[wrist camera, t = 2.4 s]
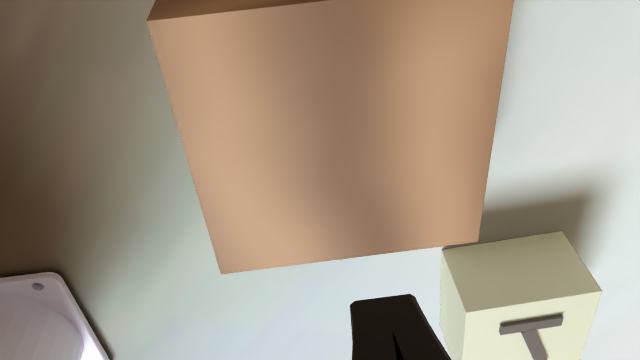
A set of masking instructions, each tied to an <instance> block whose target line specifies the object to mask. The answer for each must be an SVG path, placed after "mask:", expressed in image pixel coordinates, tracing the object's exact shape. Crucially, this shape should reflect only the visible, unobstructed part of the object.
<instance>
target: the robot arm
mask: <svg viewBox="0 0 640 360" xmlns="http://www.w3.org/2000/svg"><path fill="white" fill-rule="evenodd" d="M39 283H40V284H39ZM350 312H351V326H352V340H353V350H352V360H451V358H450V357H449V355H448V354H447V352H446V351H445V349H444V347H443V346H442V344H441V343H440V341H439V339H438V338H437V336H436V335H435V333H434V331H433V330H432V328H431V326H430V325H429V323H428V321H427V319H426V317H425V316H424V314H423V312H422V310H421V308H420V306H419V304H418V302H417V300H416V298H415V297H414V296H413V295H411V294H406V295H398V296H390V297H382V298H375V299H367V300H359V301H354V302H353V303H352V304H351V305H350ZM0 360H109V358H108V356H107V354H106V353H105V351H104V349H103V347H102V346H101V344H100V342H99V341H98V339H97V337H96V335H95V334H94V332H93V330H92V329H91V327H90V325H89V323H88V322H87V320H86V318H85V316H84V315H83V313H82V311H81V310H80V308H79V306H78V304H77V303H76V301H75V299H74V297H73V296H72V294H71V292H70V291H69V289H68V287H67V285H66V284H65V282H64V280H63V279H62V277H61V276H60V275H58V274H57V273H53V272H44V273H36V274H28V275H20V276H12V277H4V278H0Z"/></svg>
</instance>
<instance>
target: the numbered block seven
mask: <svg viewBox="0 0 640 360" xmlns="http://www.w3.org/2000/svg"><path fill="white" fill-rule="evenodd" d="M601 294H602V290H601V288H600V287H599V285H598V284H597V282H596V281H595V279H594V278H593V276H592V275H591V273H590V272H589V270H588V269H587V267H586V266H585V264H584V263H583V261H582V260H581V258H580V257H579V255H578V254H577V252H576V251H575V249H574V248H573V246H572V245H571V243H570V242H569V240H568V239H567V237H566V236H565V234H564V233H563V231H559V232H552V233H546V234H539V235H533V236H527V237H520V238H514V239H508V240H501V241H495V242H489V243H482V244H476V245H470V246H463V247H457V248H451V249H444V250H442V252H441V286H440V321H439V324H440V327H441V330H442V333H443V336H444V339H445V342H446V345H447V348H448V351H449V354H450V357H451V360H580V359H581V356H582V352H583V349H584V346H585V343H586V340H587V337H588V334H589V331H590V328H591V325H592V322H593V319H594V316H595V313H596V309H597V306H598V303H599V300H600V297H601Z"/></svg>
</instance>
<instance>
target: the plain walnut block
mask: <svg viewBox="0 0 640 360" xmlns="http://www.w3.org/2000/svg"><path fill="white" fill-rule="evenodd" d="M513 3H514V0H156V1H155V3H154V5H153V7H152V10H151V12H150V14H149V16H148V19H147V21H146V22H147V25H148V29H149V32H150V36H151V39H152V42H153V46H154V49H155V53H156V56H157V59H158V63H159V66H160V70H161V73H162V76H163V80H164V83H165V86H166V90H167V93H168V97H169V100H170V103H171V107H172V110H173V114H174V117H175V120H176V124H177V127H178V130H179V134H180V137H181V141H182V144H183V147H184V151H185V154H186V158H187V161H188V164H189V168H190V171H191V174H192V178H193V181H194V185H195V188H196V191H197V195H198V198H199V202H200V205H201V208H202V212H203V215H204V218H205V222H206V225H207V229H208V232H209V235H210V239H211V242H212V246H213V249H214V252H215V256H216V259H217V262H218V266H219V269H220V273H221V274H227V273H235V272H243V271H251V270H259V269H267V268H275V267H282V266H290V265H298V264H306V263H314V262H322V261H330V260H338V259H346V258H354V257H361V256H369V255H377V254H385V253H393V252H401V251H409V250H417V249H425V248H433V247H441V246H448V245H456V244H464V243H472V242H478V238H479V231H480V224H481V218H482V211H483V204H484V197H485V191H486V184H487V177H488V170H489V164H490V157H491V150H492V144H493V137H494V130H495V123H496V117H497V110H498V103H499V97H500V90H501V83H502V76H503V70H504V63H505V56H506V50H507V43H508V36H509V29H510V23H511V16H512V9H513Z"/></svg>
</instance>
